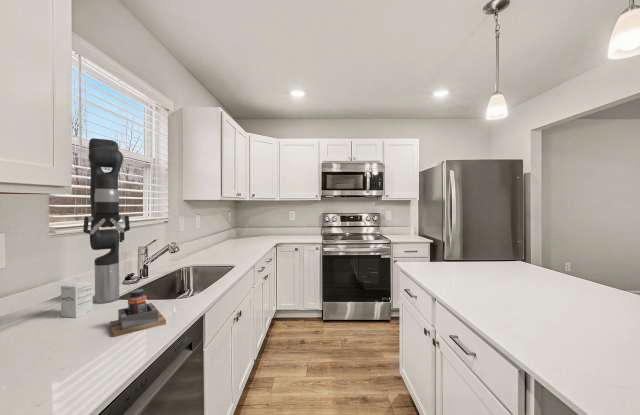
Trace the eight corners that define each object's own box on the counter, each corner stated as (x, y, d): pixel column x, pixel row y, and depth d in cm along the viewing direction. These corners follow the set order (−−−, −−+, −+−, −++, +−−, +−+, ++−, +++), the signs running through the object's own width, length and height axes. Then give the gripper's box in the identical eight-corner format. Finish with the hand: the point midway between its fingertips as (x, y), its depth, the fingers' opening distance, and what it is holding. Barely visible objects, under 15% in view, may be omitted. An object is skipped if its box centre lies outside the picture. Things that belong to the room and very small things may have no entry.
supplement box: (60, 317, 115) (59, 285, 115) (78, 310, 122) (78, 280, 122) (75, 318, 114) (75, 286, 113) (93, 311, 121) (93, 281, 121)
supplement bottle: (150, 317, 110) (150, 288, 110) (139, 324, 104) (139, 293, 104) (136, 317, 110) (135, 288, 110) (124, 323, 104) (123, 292, 104)
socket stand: (110, 325, 106) (109, 310, 106) (158, 314, 117) (158, 301, 117) (113, 336, 97) (113, 320, 97) (165, 323, 108) (165, 309, 108)
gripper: (127, 201, 118) (128, 240, 118) (82, 201, 109) (83, 243, 109) (130, 200, 112) (131, 242, 112) (83, 200, 103) (83, 245, 103)
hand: (107, 243), depth 111 cm, fingers open, 8 cm apart
